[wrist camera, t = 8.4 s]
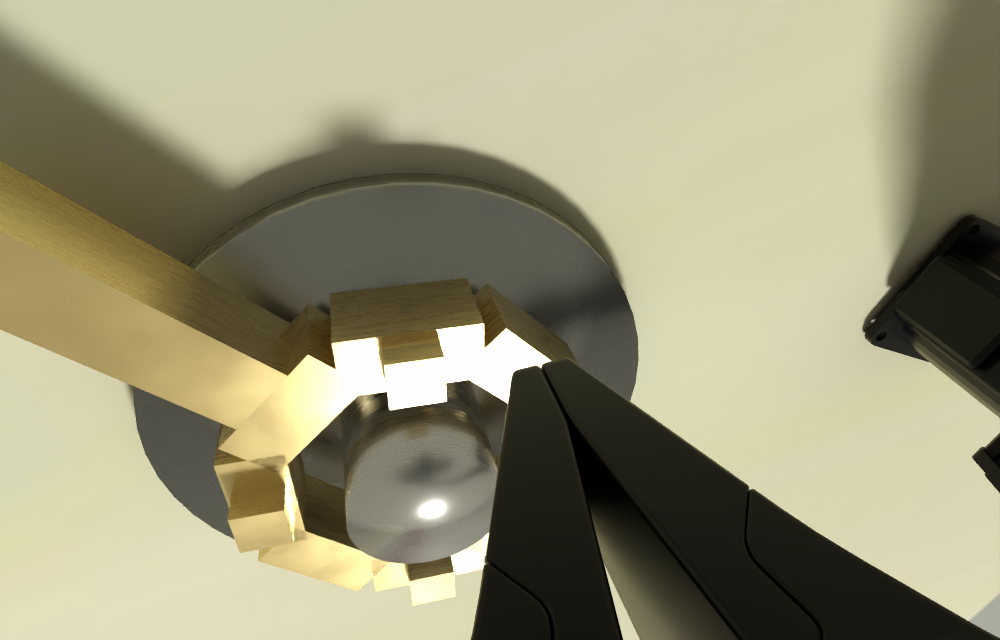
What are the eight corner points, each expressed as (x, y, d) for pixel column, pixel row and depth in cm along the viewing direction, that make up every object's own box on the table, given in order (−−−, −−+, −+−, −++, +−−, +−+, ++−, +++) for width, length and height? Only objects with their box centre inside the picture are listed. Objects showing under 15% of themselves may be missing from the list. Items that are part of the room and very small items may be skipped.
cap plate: (712, 258, 23) (802, 346, 19) (515, 554, 32) (547, 663, 27) (192, 83, 16) (147, 163, 12) (110, 531, 24) (67, 676, 20)
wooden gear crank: (628, 390, 24) (669, 456, 22) (424, 560, 28) (436, 637, 25) (78, -26, 13) (15, 2, 10) (-160, 348, 16) (-257, 446, 13)
